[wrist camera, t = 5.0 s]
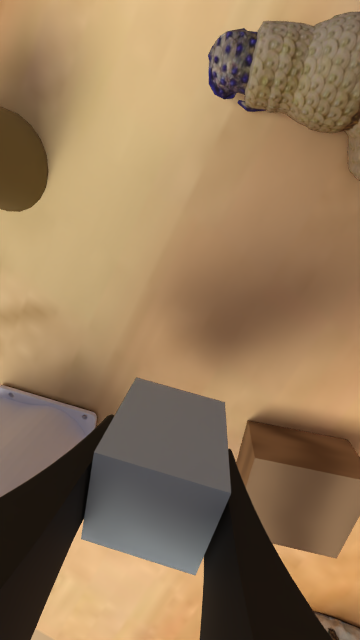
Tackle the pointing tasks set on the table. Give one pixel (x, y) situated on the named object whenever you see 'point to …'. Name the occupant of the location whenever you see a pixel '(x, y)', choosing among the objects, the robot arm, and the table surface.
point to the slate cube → (160, 477)
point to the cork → (20, 163)
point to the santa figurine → (338, 628)
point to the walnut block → (301, 486)
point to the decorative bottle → (296, 74)
